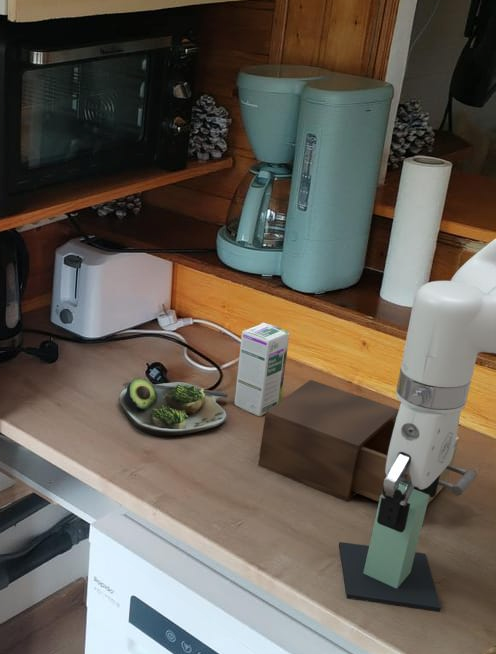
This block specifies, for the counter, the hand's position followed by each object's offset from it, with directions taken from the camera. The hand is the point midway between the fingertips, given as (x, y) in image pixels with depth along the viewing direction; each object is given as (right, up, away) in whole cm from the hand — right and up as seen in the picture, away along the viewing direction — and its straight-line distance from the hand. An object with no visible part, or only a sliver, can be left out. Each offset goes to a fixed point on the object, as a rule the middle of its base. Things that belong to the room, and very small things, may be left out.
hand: (406, 509), depth 112 cm
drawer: (+8, 0, +21) cm, 23 cm away
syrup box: (-7, +11, +46) cm, 48 cm away
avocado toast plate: (-22, +10, +44) cm, 50 cm away
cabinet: (-1, +3, +29) cm, 29 cm away
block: (-1, -9, +4) cm, 10 cm away
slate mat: (-1, -9, +5) cm, 11 cm away
